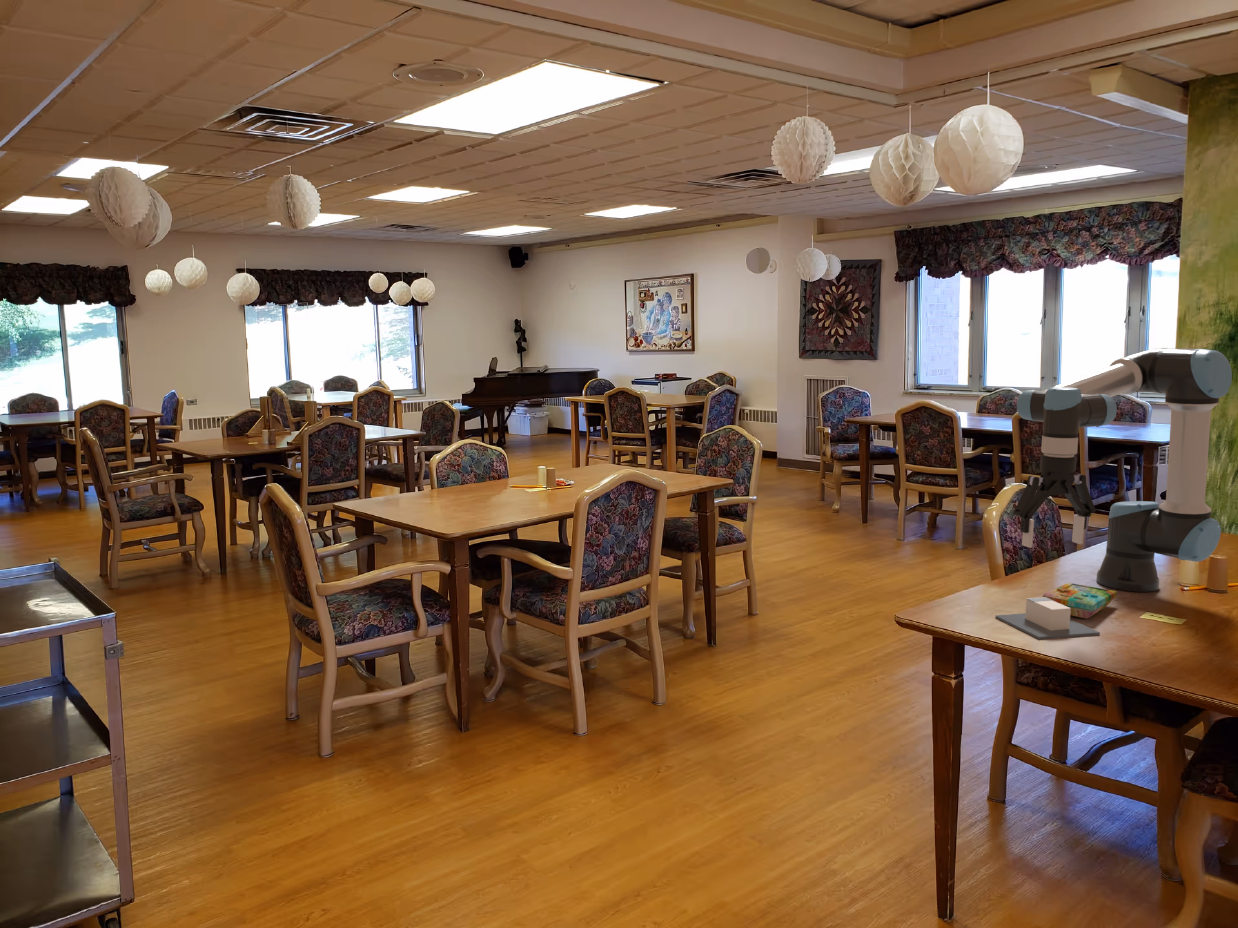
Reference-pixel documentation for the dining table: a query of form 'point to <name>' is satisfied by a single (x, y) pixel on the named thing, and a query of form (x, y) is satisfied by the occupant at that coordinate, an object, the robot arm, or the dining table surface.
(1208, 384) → the robot arm
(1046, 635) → the mat
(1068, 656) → the dining table surface
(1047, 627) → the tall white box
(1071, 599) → the puzzle game
